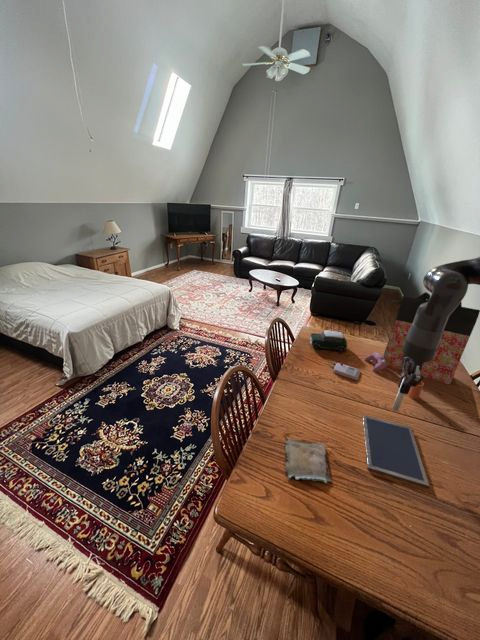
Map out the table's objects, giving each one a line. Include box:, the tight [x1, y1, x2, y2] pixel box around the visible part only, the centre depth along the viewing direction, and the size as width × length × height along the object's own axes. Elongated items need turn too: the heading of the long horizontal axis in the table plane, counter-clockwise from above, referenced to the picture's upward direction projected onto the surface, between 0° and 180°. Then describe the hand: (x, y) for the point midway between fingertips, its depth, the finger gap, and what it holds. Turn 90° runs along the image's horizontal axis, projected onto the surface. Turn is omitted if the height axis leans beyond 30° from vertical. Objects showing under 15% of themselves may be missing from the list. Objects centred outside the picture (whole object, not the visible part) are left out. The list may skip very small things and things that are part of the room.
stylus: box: [391, 377, 409, 412], centre depth 81 cm, size 2×2×13 cm
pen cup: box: [407, 380, 425, 400], centre depth 102 cm, size 4×4×7 cm
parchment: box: [284, 438, 332, 485], centre depth 76 cm, size 12×13×1 cm
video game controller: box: [363, 352, 388, 373], centre depth 120 cm, size 10×5×7 cm, turn 0°
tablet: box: [361, 414, 430, 489], centre depth 82 cm, size 15×21×1 cm
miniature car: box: [309, 329, 348, 353], centre depth 134 cm, size 9×18×8 cm, turn 80°
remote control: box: [327, 361, 362, 381], centre depth 116 cm, size 7×16×3 cm, turn 58°
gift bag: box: [382, 291, 480, 385], centre depth 114 cm, size 29×14×35 cm, turn 60°
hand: (402, 390), depth 81 cm, fingers closed on stylus, 2 cm apart
